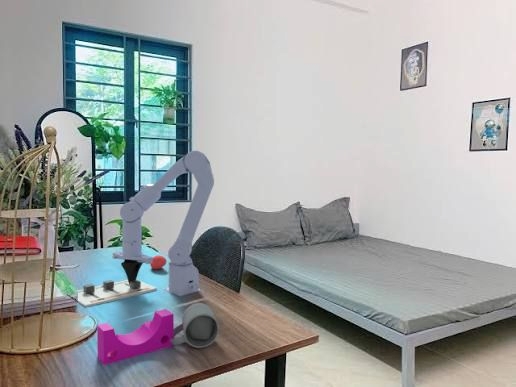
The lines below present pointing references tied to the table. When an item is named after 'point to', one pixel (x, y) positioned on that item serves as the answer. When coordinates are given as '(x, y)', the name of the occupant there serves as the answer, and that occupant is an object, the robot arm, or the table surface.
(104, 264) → the table surface
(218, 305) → the table surface
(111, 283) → the tab
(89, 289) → the tab
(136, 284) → the tab
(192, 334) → the ceramic mug
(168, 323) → the toy block
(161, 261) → the stress ball
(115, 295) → the switch panel
